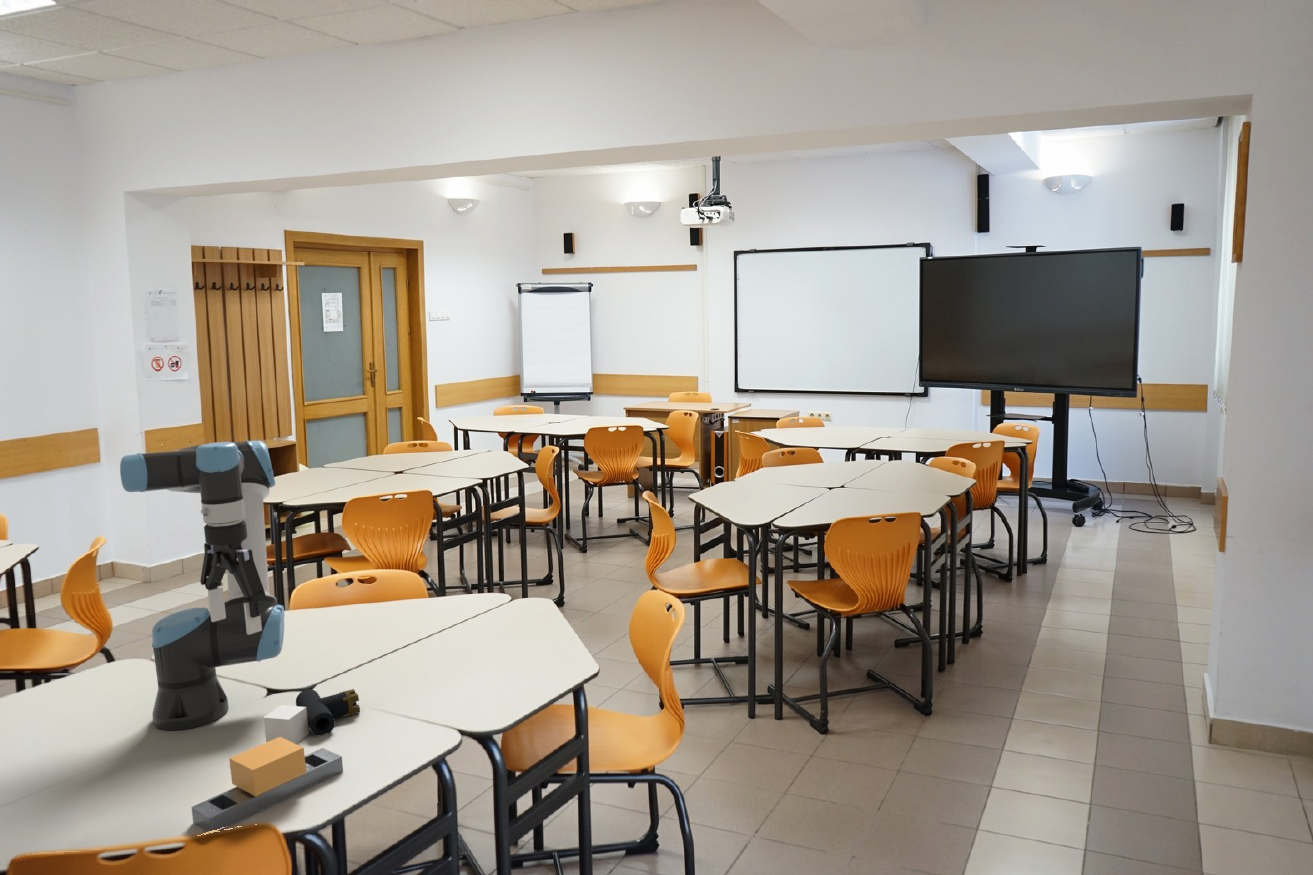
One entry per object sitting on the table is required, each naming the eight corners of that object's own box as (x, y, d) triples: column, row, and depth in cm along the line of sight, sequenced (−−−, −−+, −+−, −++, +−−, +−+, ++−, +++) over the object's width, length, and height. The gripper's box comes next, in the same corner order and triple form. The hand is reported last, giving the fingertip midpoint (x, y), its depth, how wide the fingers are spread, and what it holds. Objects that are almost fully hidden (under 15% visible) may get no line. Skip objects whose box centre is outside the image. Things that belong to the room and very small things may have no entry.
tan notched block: (234, 801, 173) (229, 758, 171) (284, 778, 180) (279, 736, 179) (257, 814, 168) (252, 770, 167) (308, 790, 176) (303, 747, 174)
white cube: (308, 733, 199) (306, 707, 198) (291, 747, 194) (288, 719, 193) (284, 731, 201) (281, 705, 200) (266, 744, 195) (263, 717, 194)
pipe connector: (347, 678, 215) (364, 700, 202) (349, 700, 216) (367, 723, 203) (294, 691, 209) (308, 715, 196) (297, 714, 210) (311, 739, 197)
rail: (193, 822, 166) (191, 807, 166) (324, 762, 186) (322, 747, 186) (211, 834, 162) (209, 818, 162) (343, 771, 182) (341, 756, 182)
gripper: (174, 518, 189) (186, 620, 192) (240, 533, 174) (251, 643, 177) (211, 511, 195) (222, 609, 198) (277, 525, 180) (288, 631, 183)
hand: (236, 626), depth 188 cm, fingers open, 13 cm apart
